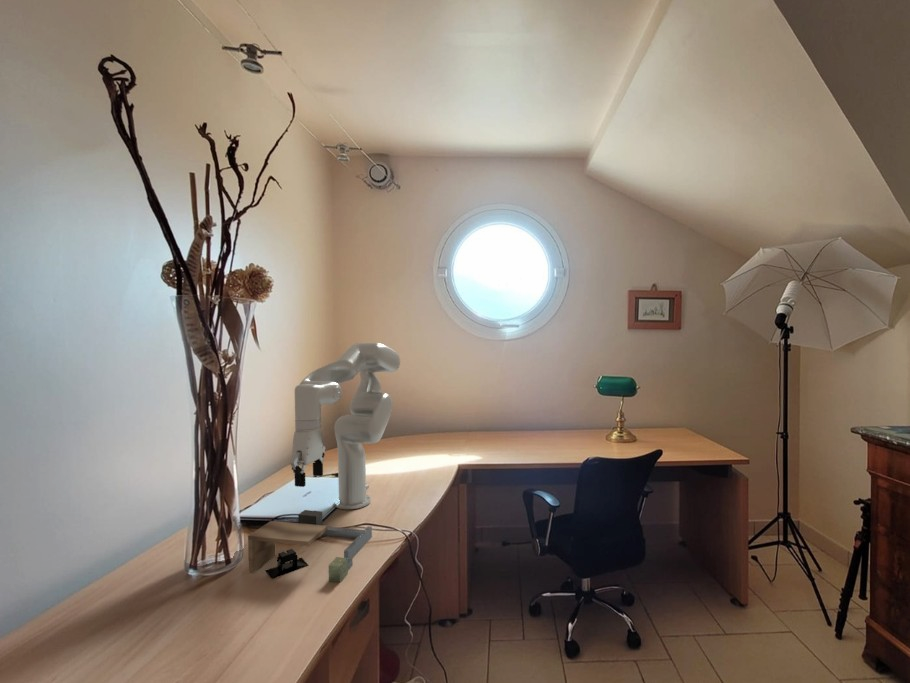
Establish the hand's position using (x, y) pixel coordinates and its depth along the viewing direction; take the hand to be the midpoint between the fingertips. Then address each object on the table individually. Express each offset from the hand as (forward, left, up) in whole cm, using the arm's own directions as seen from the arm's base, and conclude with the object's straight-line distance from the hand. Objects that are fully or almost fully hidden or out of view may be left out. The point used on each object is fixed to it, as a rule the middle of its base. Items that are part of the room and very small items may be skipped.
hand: (309, 480), depth 130 cm
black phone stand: (+19, +5, -17) cm, 26 cm away
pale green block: (+19, +20, -16) cm, 32 cm away
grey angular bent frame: (+6, +8, -16) cm, 19 cm away
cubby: (+19, +6, -16) cm, 26 cm away
